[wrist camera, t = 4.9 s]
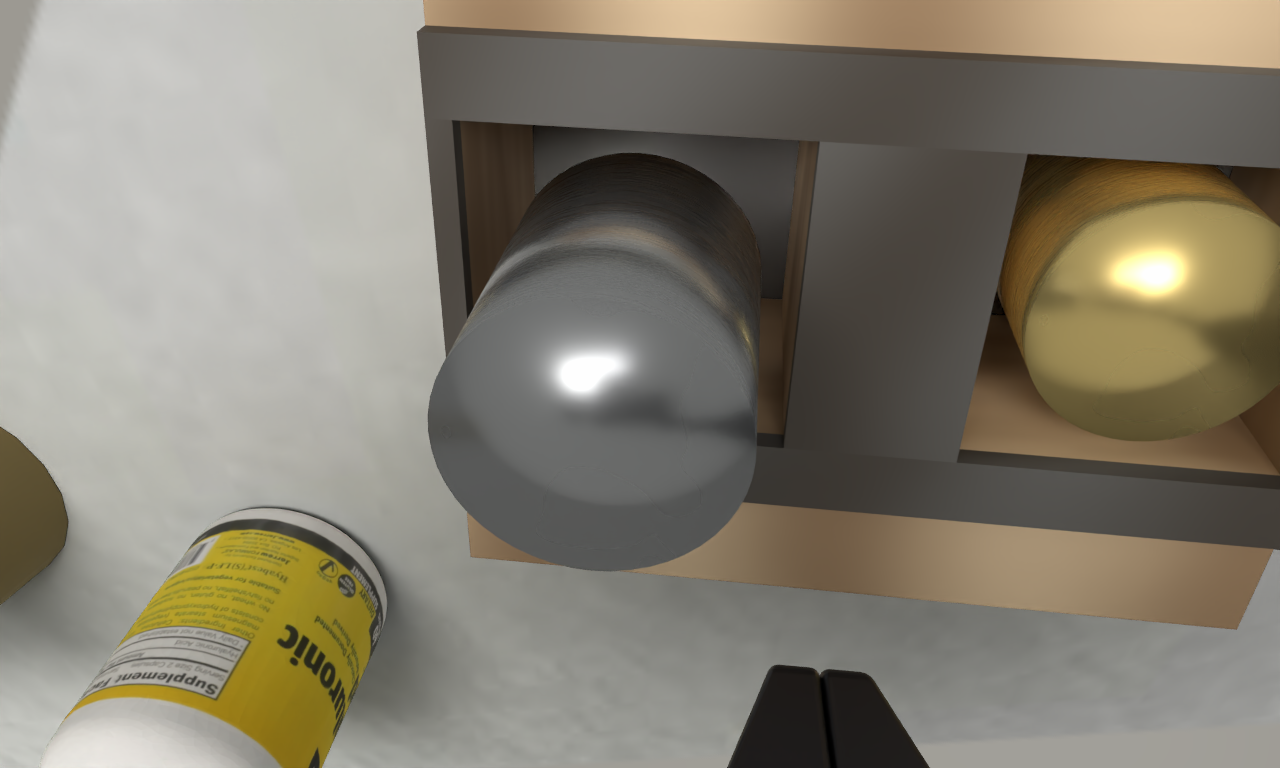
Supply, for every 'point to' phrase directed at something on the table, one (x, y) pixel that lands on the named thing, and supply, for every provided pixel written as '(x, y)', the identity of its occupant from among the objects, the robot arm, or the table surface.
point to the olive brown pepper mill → (26, 516)
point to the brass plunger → (1142, 294)
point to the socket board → (902, 272)
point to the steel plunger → (609, 370)
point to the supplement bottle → (236, 654)
